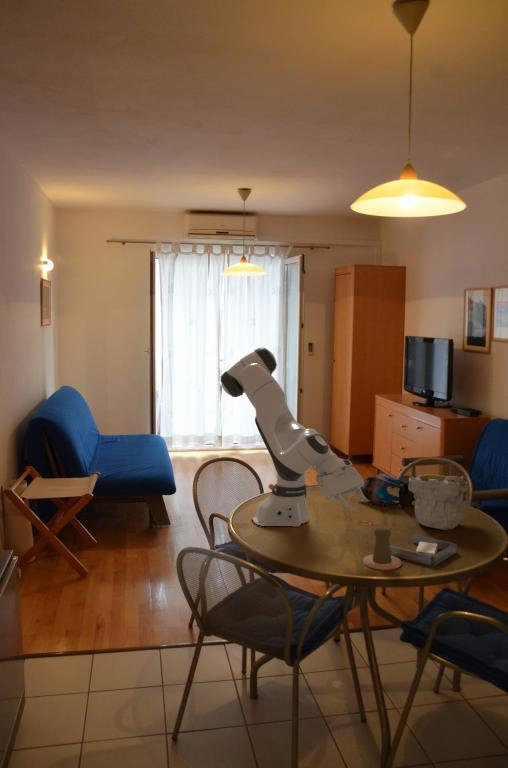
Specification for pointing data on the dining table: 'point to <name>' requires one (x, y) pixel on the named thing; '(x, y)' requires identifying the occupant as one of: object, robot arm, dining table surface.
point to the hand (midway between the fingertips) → (355, 503)
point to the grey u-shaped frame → (446, 552)
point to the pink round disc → (390, 566)
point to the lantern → (386, 491)
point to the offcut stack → (427, 548)
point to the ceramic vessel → (439, 500)
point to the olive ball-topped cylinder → (382, 545)
